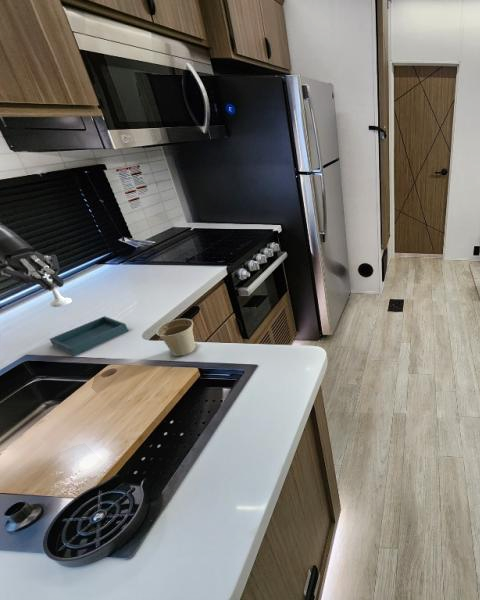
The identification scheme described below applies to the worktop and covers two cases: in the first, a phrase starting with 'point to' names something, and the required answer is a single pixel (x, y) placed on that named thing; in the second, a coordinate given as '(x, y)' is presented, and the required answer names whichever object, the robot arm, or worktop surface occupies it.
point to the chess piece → (57, 295)
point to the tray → (88, 335)
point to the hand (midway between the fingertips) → (57, 286)
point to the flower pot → (178, 336)
